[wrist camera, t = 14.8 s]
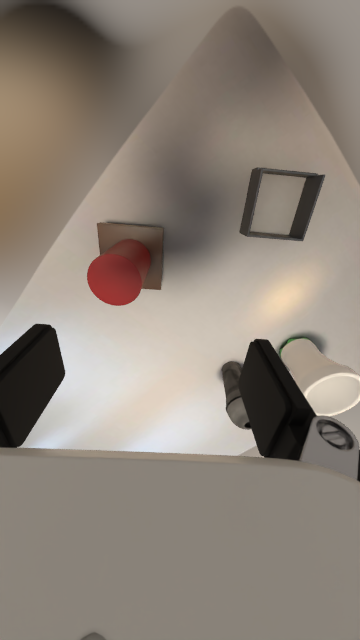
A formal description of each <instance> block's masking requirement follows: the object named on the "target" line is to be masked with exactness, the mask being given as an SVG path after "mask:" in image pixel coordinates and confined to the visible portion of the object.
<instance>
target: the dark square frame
mask: <svg viewBox="0 0 360 640" xmlns="http://www.w3.org/2000/svg"><path fill="white" fill-rule="evenodd" d="M263 173H267V174H277V175H287V176H297V177H307V178H306V182H305V185H304V188H303V192H302V195H301V198H300V201H299V205H298V208H297V211H296V214H295V218H294V221H293V224H292V228H291V231H290V234H289V235H280V234H268V233H256V232H250V228H251V224H252V219H253V215H254V210H255V206H256V201H257V197H258V192H259V188H260V183H261V179H262V174H263ZM324 178H325V175H318V174H316V173H306V172H297V171H287V170H277V169H267V168H255V169H253V170H252V173H251V178H250V183H249V188H248V193H247V198H246V203H245V208H244V213H243V218H242V223H241V228H240V233H241V234H243V235H245V236H247V237H259V238H271V239H283V240H295V241H303V240H304V237H305V234H306V231H307V228H308V225H309V222H310V219H311V216H312V213H313V210H314V207H315V204H316V201H317V198H318V196H319V193H320V190H321V187H322V184H323V181H324Z"/></svg>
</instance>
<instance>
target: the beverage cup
mask: <svg viewBox="0 0 360 640" xmlns="http://www.w3.org/2000/svg"><path fill="white" fill-rule="evenodd" d="M241 371H242V368H241V367H240V365H239V364H238V363H236V362H228V363H226V364H225V365H224V366H223V368H222V372H223V381H224V387H225V394H226V411H227V413H228V415H229V417H230V419H231V421H232V422H233V423H234V424H235V425H236V426H238V427H239V428H242V429H252V428H251V425H250V422H249V419H248V416H247V413H246V410H245V407H244V404H243V401H242V397H241V394H240V391H239V388H238V381H239V378H240V374H241Z"/></svg>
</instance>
